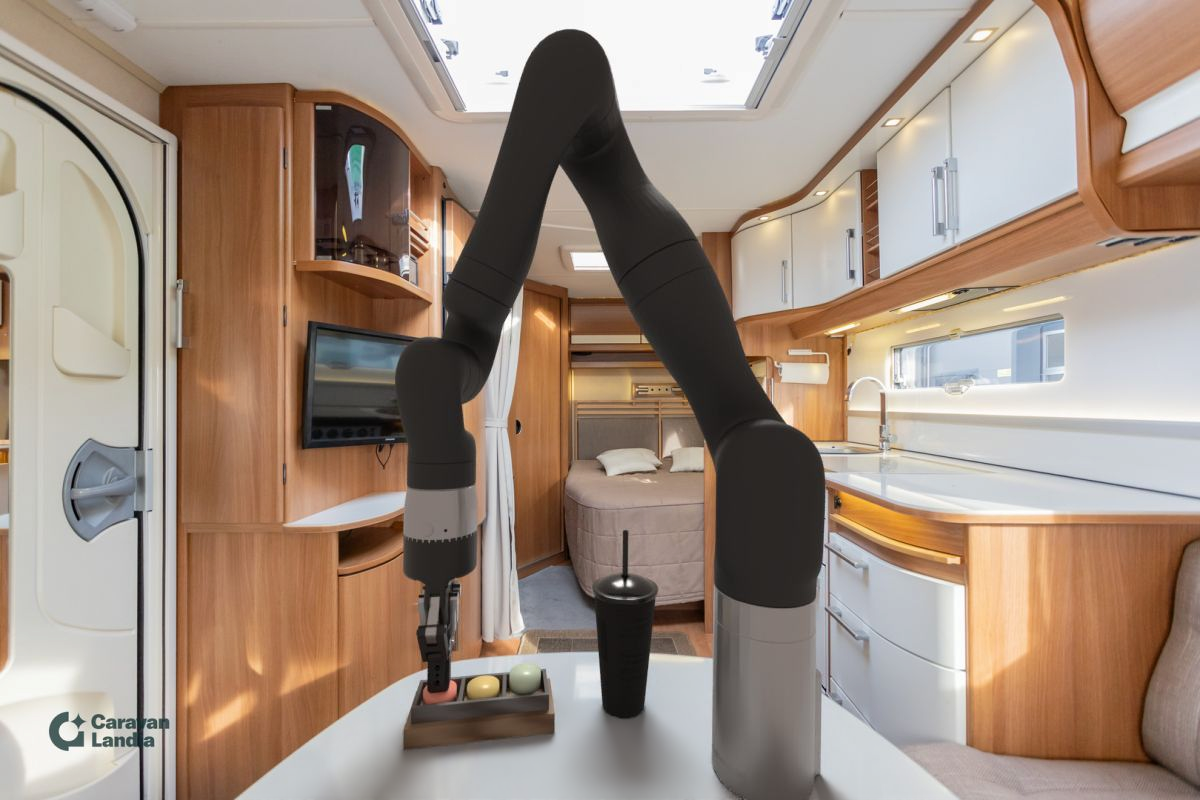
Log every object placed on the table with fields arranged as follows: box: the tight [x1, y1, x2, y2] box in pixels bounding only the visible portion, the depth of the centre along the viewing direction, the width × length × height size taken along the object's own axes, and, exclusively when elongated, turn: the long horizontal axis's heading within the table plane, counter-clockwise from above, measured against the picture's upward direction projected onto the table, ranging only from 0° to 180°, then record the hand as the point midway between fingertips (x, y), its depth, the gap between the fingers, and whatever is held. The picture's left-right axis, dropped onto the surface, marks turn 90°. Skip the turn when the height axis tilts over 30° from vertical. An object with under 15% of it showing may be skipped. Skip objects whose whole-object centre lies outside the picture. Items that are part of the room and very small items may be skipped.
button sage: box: [509, 662, 542, 695], centre depth 52 cm, size 3×3×2 cm
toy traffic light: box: [402, 668, 556, 751], centre depth 52 cm, size 15×6×4 cm, turn 101°
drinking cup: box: [591, 529, 659, 720], centre depth 54 cm, size 8×8×20 cm
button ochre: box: [467, 675, 499, 700], centre depth 52 cm, size 3×3×2 cm
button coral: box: [423, 680, 457, 705], centre depth 51 cm, size 3×3×2 cm
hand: (439, 688), depth 51 cm, fingers closed
